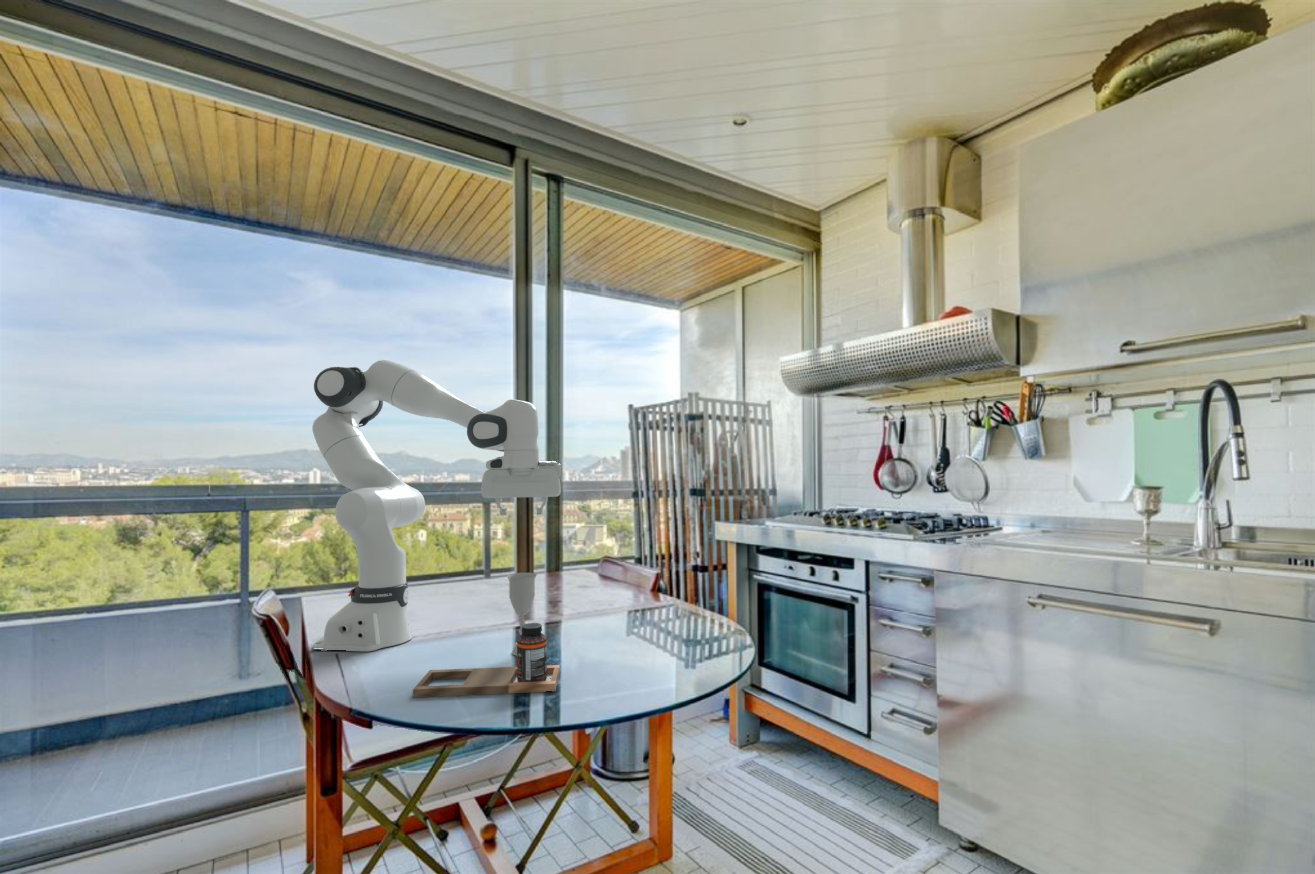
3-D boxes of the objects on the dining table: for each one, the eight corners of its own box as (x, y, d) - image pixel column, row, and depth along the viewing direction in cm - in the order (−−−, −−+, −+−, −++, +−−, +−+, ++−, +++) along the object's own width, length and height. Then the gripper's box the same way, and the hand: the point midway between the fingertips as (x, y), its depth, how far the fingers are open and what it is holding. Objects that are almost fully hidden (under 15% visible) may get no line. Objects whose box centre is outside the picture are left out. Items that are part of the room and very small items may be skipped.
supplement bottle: (514, 678, 126) (514, 623, 127) (543, 674, 129) (542, 619, 129) (520, 688, 121) (519, 630, 121) (550, 683, 123) (549, 626, 124)
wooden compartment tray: (412, 697, 118) (412, 689, 118) (429, 677, 129) (429, 670, 129) (555, 691, 120) (555, 683, 120) (559, 672, 131) (559, 665, 131)
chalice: (529, 657, 141) (529, 578, 141) (501, 656, 142) (501, 577, 143) (541, 648, 148) (541, 572, 148) (515, 647, 149) (515, 572, 150)
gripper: (562, 461, 164) (562, 513, 164) (484, 462, 163) (484, 514, 162) (560, 461, 158) (561, 515, 157) (479, 462, 156) (479, 516, 156)
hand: (521, 514), depth 160 cm, fingers open, 8 cm apart
